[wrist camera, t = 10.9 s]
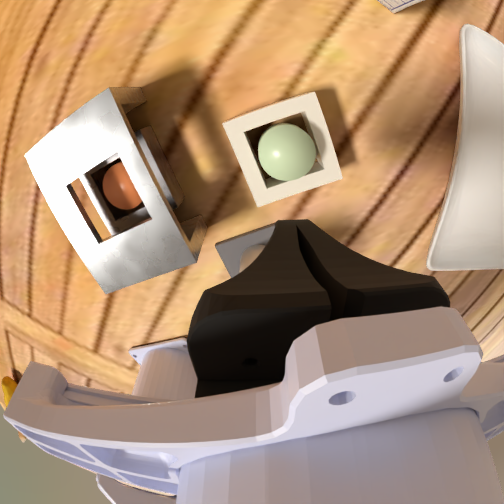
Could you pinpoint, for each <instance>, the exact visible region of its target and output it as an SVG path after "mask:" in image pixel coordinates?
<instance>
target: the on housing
mask: <svg viewBox="0 0 504 504" xmlns="http://www.w3.org/2000/svg"><path fill="white" fill-rule="evenodd" d="M300 112H301V114H302V117H303V120H304V123H305V125H306V128H307V131H308V134H309V136H310V137H311V139H312V140H313V142H314V145H315V149H316V158H317V161H318V162H315V163H314V164H313V166H312V168H311V169H310V171H309V172H308V173H307V174H305V175H304V176H303V177H301V178H299V179H296V180H292V181H282V180H278V179H275V178H273V177H271V178H268V179H265V177H264V175H263V172H262V170H261V167H260V165H259V162H258V160H257V157H256V155H255V152H254V150H253V147H252V145H251V142H250V140H249V138H248V135H247V133H246V131H248V130H251V129H253V128H256V127H259V126H262V125H264V124H267V123H270V122H273V121H276V120H279V119H282V118H285V117H288V116H291V115H294V114H297V113H300ZM222 124H223V127H224V129H225V131H226V133H227V136H228V138H229V140H230V143H231V145H232V147H233V150H234V152H235V154H236V157H237V159H238V162H239V164H240V166H241V169H242V171H243V173H244V176H245V178H246V180H247V183H248V185H249V188H250V190H251V192H252V195H253V197H254V200H255V202H256V205H257V207H260V206H263V205H266V204H269V203H271V202H274V201H277V200H280V199H283V198H286V197H289V196H292V195H295V194H298V193H301V192H304V191H307V190H310V189H313V188H316V187H319V186H322V185H325V184H328V183H331V182H334V181H337V180H340V179H343V177H342V174H341V170H340V167H339V163H338V160H337V157H336V153H335V150H334V147H333V143H332V140H331V137H330V134H329V131H328V128H327V125H326V122H325V119H324V116H323V113H322V110H321V107H320V104H319V102H318V99H317V96H316V93H315V92H307V93H304V94H301V95H297V96H294V97H291V98H288V99H285V100H281V101H278V102H275V103H272V104H270V105H267V106H264V107H261V108H258V109H255V110H253V111H250V112H247V113H245V114H242V115H239V116H237V117H234V118H232V119H229V120H227V121H225V122H224V123H222Z"/></svg>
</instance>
